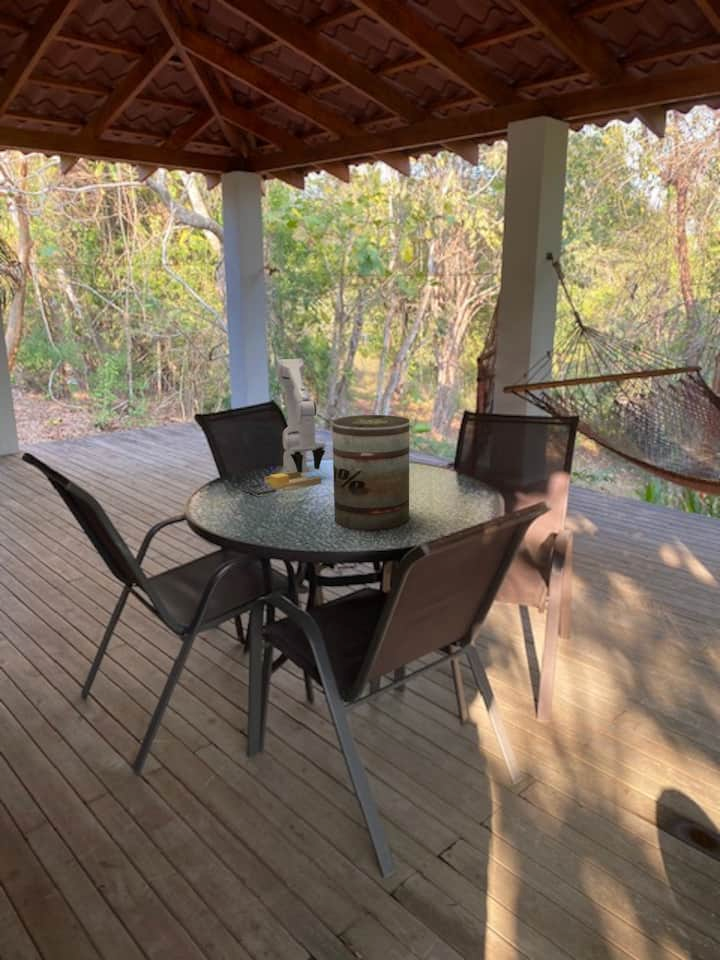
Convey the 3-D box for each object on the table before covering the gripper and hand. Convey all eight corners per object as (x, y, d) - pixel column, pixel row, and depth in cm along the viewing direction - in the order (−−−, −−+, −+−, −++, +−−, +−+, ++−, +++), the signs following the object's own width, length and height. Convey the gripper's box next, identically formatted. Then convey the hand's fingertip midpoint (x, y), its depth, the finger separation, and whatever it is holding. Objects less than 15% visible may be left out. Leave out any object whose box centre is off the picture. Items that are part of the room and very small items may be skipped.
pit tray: (242, 490, 235) (242, 487, 235) (259, 487, 239) (259, 483, 239) (258, 497, 227) (258, 493, 226) (275, 493, 231) (275, 489, 230)
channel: (264, 485, 242) (264, 477, 241) (299, 478, 251) (298, 470, 250) (285, 493, 231) (285, 484, 230) (321, 485, 240) (320, 477, 239)
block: (270, 485, 238) (269, 475, 237) (282, 483, 241) (281, 472, 240) (277, 488, 234) (276, 477, 233) (289, 486, 237) (288, 475, 236)
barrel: (332, 510, 211) (330, 416, 203) (402, 507, 213) (402, 414, 205) (337, 533, 189) (334, 428, 181) (415, 529, 191) (415, 426, 184)
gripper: (296, 438, 234) (297, 475, 237) (329, 432, 242) (330, 469, 246) (285, 435, 239) (287, 472, 242) (318, 430, 248) (319, 465, 251)
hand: (308, 470), depth 244 cm, fingers open, 7 cm apart
